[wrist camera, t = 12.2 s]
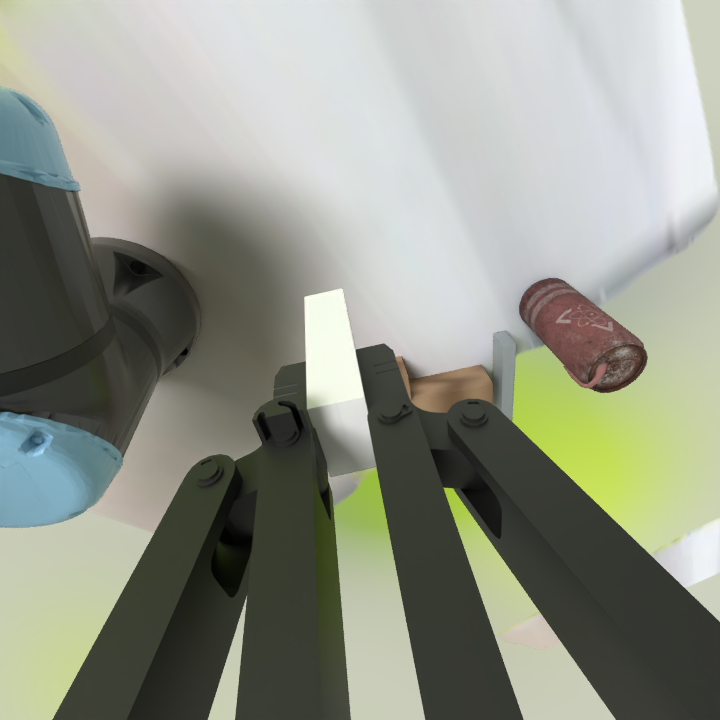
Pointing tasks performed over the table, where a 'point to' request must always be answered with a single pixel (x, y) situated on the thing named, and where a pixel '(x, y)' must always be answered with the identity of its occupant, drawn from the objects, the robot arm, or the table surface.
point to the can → (582, 336)
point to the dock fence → (503, 372)
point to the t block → (447, 387)
